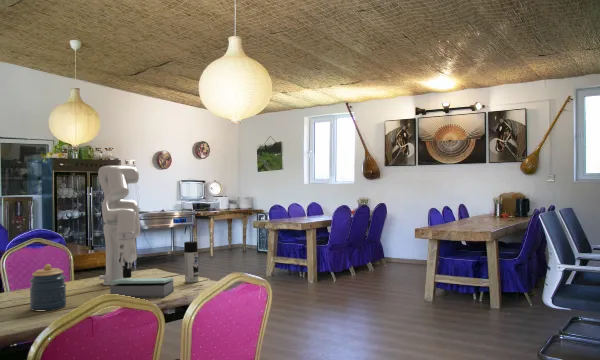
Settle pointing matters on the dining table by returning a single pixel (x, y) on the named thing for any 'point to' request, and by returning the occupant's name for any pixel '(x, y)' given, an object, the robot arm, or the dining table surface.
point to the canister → (48, 289)
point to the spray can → (191, 261)
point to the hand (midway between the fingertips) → (127, 277)
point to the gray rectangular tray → (143, 289)
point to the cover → (141, 280)
